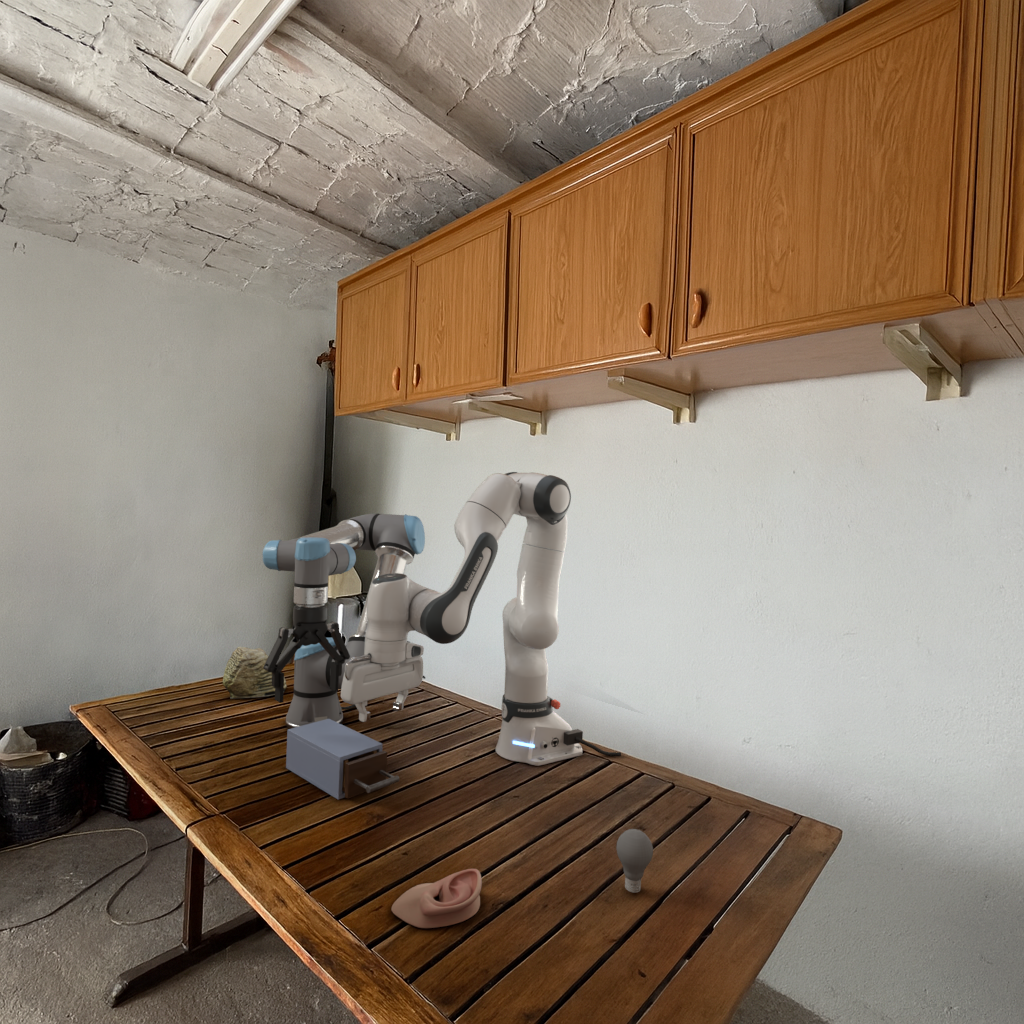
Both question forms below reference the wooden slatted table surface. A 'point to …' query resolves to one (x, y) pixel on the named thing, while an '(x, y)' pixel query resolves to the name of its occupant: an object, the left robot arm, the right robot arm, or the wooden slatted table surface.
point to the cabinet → (325, 753)
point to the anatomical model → (441, 901)
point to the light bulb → (634, 857)
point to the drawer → (366, 773)
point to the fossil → (248, 674)
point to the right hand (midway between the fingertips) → (381, 715)
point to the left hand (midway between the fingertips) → (307, 695)
